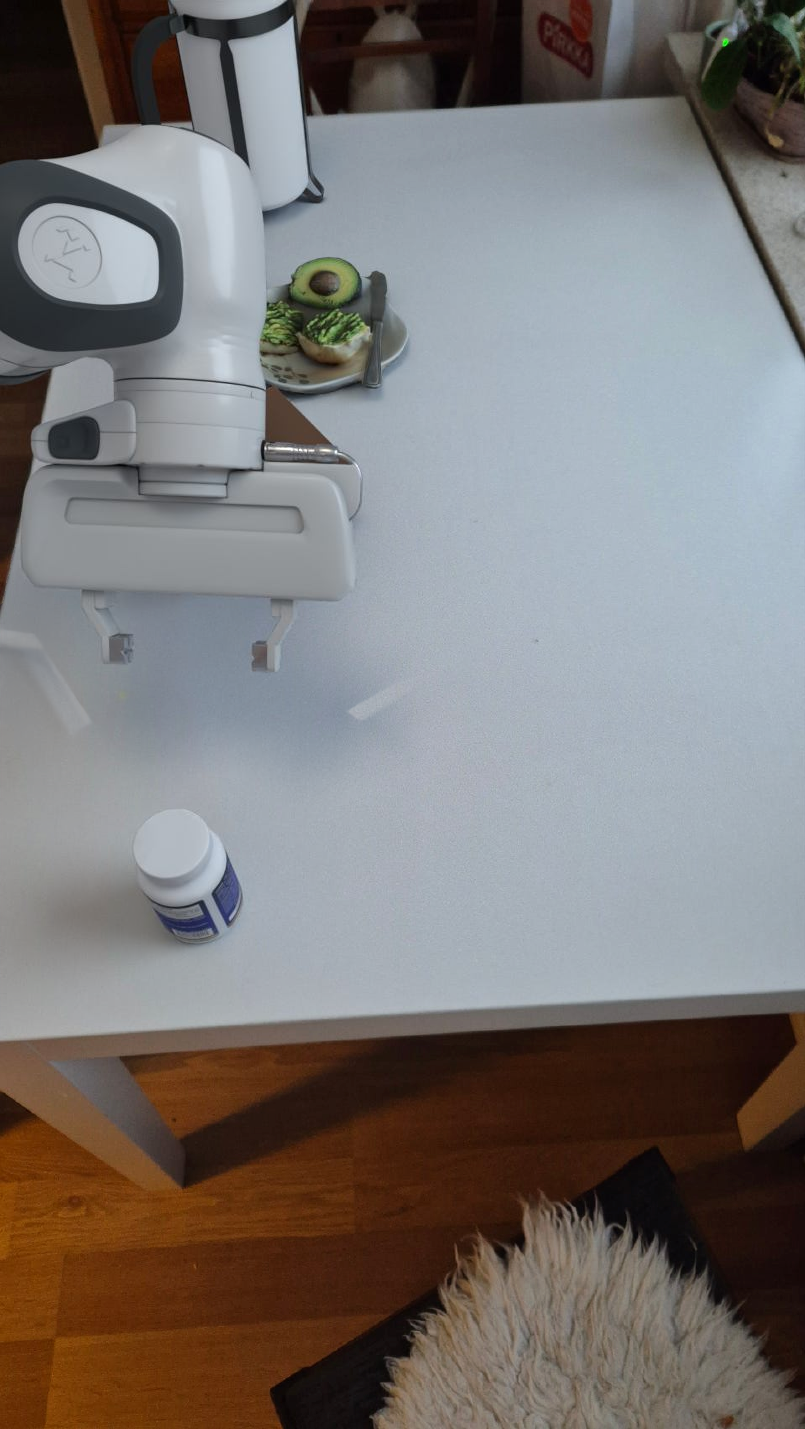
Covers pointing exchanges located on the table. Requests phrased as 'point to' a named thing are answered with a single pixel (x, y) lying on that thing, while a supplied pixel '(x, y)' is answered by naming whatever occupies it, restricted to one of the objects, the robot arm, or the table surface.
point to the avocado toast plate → (329, 329)
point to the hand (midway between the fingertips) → (191, 667)
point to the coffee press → (238, 86)
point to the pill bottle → (187, 876)
